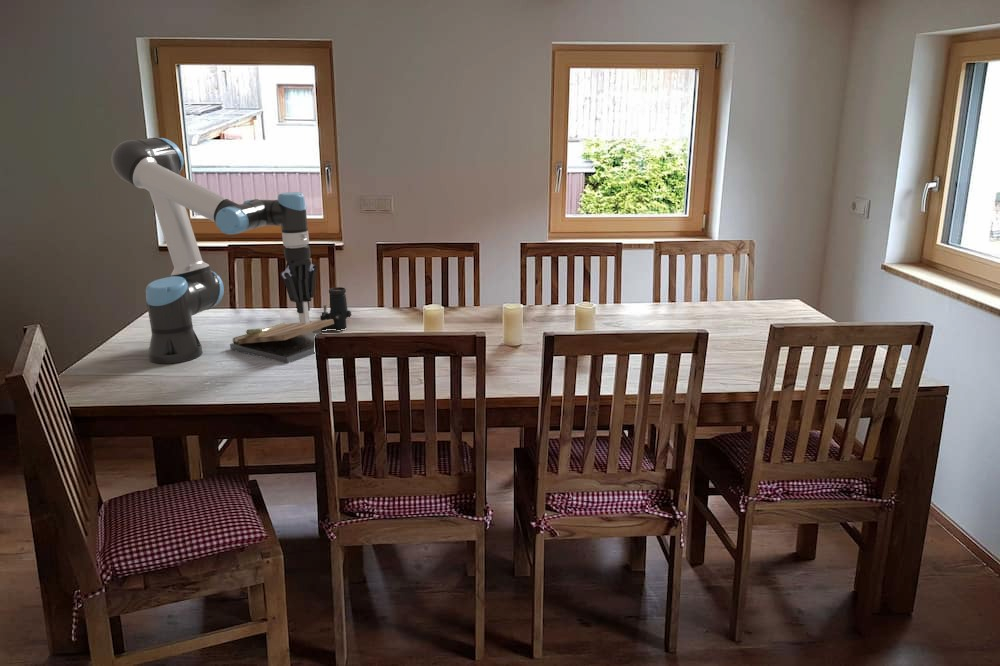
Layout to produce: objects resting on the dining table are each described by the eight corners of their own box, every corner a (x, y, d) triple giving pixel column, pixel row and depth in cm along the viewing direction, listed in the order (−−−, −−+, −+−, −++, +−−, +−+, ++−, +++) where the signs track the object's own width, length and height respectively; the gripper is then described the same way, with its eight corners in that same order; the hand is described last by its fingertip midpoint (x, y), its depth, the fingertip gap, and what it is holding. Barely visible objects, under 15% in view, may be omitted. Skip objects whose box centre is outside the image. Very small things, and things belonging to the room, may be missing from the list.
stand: (230, 349, 248) (229, 338, 247) (285, 331, 265) (284, 321, 264) (287, 363, 234) (286, 351, 232) (341, 343, 251) (340, 332, 250)
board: (238, 343, 246) (235, 332, 246) (288, 328, 262) (286, 317, 261) (284, 340, 233) (281, 327, 233) (334, 323, 249) (331, 312, 248)
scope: (320, 286, 266) (350, 285, 267) (324, 326, 270) (353, 325, 271) (316, 292, 259) (347, 291, 259) (320, 333, 263) (350, 332, 263)
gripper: (288, 250, 228) (296, 329, 234) (321, 242, 238) (329, 319, 245) (270, 248, 232) (279, 326, 239) (304, 241, 242) (312, 316, 249)
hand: (304, 322), depth 242 cm, fingers closed
